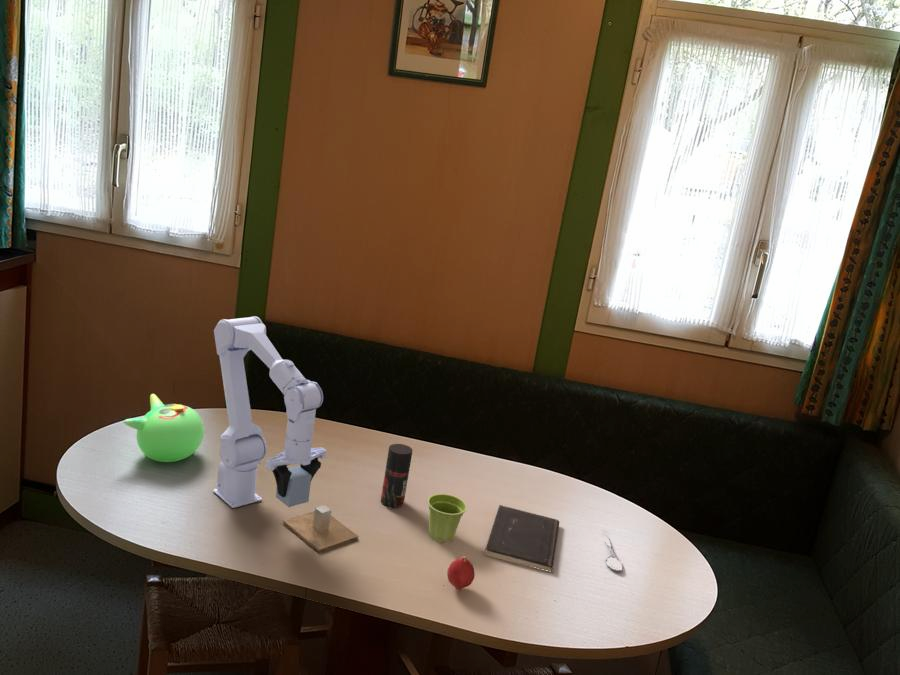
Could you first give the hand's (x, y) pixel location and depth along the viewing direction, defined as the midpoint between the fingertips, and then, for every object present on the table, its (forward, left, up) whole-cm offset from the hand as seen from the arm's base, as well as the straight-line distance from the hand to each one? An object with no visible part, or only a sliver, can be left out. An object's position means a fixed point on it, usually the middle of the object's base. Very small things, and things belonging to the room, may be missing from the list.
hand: (292, 492), depth 167 cm
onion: (+37, +18, -10) cm, 42 cm away
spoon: (+47, +63, -11) cm, 79 cm away
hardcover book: (+31, +47, -11) cm, 58 cm away
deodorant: (+2, +30, -10) cm, 32 cm away
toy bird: (-45, -7, -10) cm, 47 cm away
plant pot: (+20, +30, -10) cm, 38 cm away
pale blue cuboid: (0, 0, -2) cm, 2 cm away
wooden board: (+4, +6, -10) cm, 12 cm away
